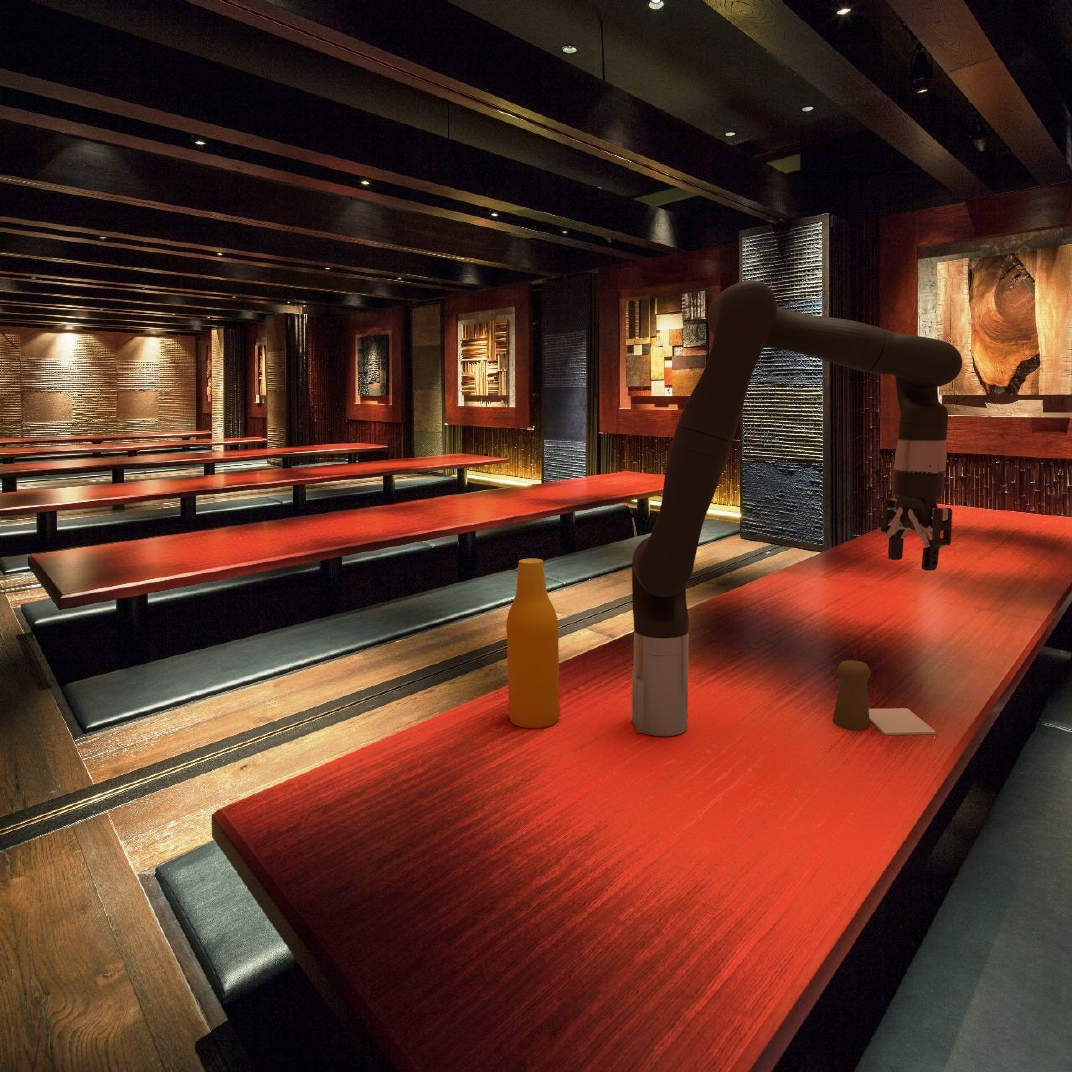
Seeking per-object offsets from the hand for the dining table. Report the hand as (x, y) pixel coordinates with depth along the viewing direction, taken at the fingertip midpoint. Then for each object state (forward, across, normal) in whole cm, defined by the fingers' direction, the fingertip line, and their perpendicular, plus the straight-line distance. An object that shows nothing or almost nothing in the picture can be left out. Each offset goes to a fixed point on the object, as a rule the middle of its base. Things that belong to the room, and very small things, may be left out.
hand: (911, 564), depth 125 cm
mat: (+28, 0, -1) cm, 28 cm away
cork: (+28, -1, -8) cm, 29 cm away
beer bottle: (+29, -15, -62) cm, 70 cm away
